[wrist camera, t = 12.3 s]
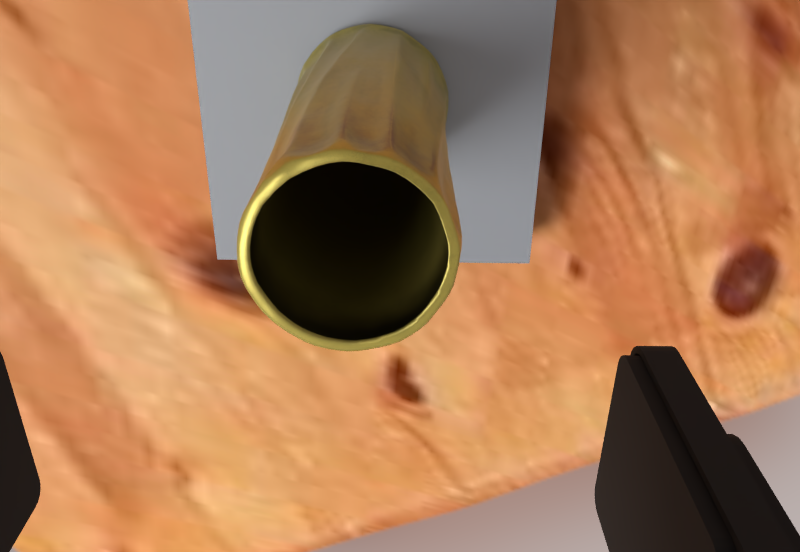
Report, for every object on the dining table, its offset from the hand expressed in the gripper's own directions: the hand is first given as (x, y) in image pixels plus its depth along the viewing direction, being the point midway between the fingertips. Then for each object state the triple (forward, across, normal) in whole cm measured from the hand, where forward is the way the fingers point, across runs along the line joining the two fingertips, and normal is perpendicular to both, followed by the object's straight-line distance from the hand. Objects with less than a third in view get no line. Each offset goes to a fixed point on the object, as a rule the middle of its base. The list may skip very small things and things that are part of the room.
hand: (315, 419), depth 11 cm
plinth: (+24, 0, +1) cm, 24 cm away
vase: (+21, 0, +1) cm, 21 cm away
